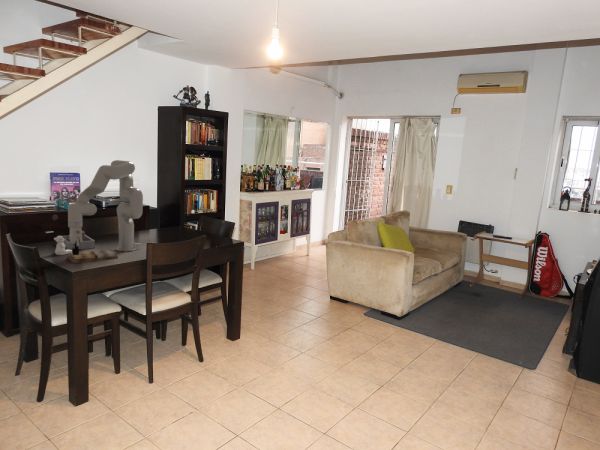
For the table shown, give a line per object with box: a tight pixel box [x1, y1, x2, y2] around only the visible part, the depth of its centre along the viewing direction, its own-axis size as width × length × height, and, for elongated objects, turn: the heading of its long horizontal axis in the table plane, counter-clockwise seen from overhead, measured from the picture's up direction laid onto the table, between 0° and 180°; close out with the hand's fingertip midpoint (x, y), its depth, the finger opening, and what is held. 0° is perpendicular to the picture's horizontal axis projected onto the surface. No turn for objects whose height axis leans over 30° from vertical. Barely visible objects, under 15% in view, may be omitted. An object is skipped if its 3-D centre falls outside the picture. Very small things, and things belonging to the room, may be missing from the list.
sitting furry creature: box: [53, 235, 72, 256], centre depth 268 cm, size 10×9×12 cm
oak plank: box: [69, 250, 95, 259], centre depth 260 cm, size 11×12×2 cm
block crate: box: [61, 234, 96, 250], centre depth 293 cm, size 16×24×5 cm, turn 41°
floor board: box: [67, 248, 119, 264], centre depth 264 cm, size 25×14×3 cm, turn 132°
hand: (75, 254), depth 257 cm, fingers closed
